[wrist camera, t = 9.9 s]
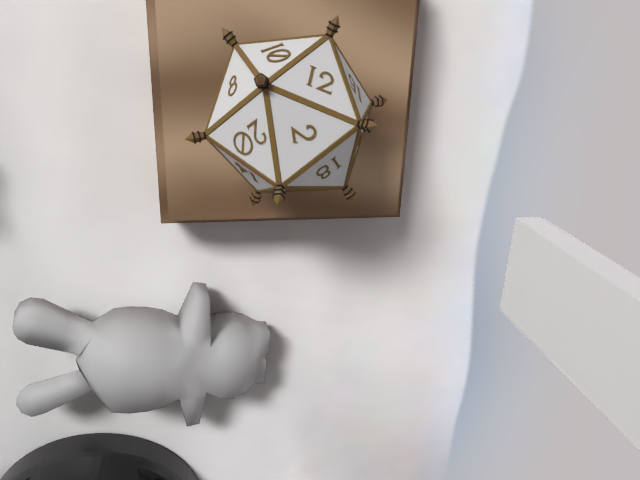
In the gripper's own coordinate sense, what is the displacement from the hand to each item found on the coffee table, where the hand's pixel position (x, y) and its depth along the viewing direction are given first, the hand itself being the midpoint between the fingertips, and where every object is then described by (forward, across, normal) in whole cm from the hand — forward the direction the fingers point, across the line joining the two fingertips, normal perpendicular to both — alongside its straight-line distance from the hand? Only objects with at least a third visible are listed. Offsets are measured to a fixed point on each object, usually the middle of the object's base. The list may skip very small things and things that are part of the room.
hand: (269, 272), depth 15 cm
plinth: (+22, -3, -2) cm, 22 cm away
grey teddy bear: (+23, +5, +15) cm, 28 cm away
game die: (+18, -3, -1) cm, 18 cm away
